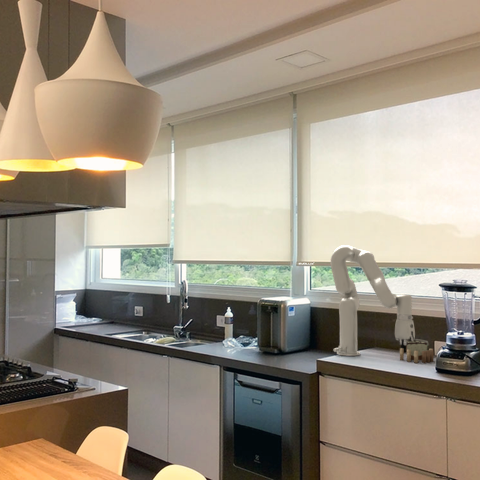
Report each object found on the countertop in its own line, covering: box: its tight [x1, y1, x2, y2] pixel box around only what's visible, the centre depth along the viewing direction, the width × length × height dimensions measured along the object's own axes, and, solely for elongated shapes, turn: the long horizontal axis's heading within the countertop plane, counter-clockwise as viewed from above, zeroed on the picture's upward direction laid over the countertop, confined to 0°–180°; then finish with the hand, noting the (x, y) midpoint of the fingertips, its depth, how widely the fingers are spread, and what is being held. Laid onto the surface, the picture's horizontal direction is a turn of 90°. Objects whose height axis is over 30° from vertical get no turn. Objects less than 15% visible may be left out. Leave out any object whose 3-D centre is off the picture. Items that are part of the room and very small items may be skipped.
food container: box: [405, 338, 430, 362], centre depth 290 cm, size 12×6×10 cm, turn 93°
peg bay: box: [399, 347, 435, 364], centre depth 287 cm, size 14×14×6 cm
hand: (404, 352), depth 294 cm, fingers closed
